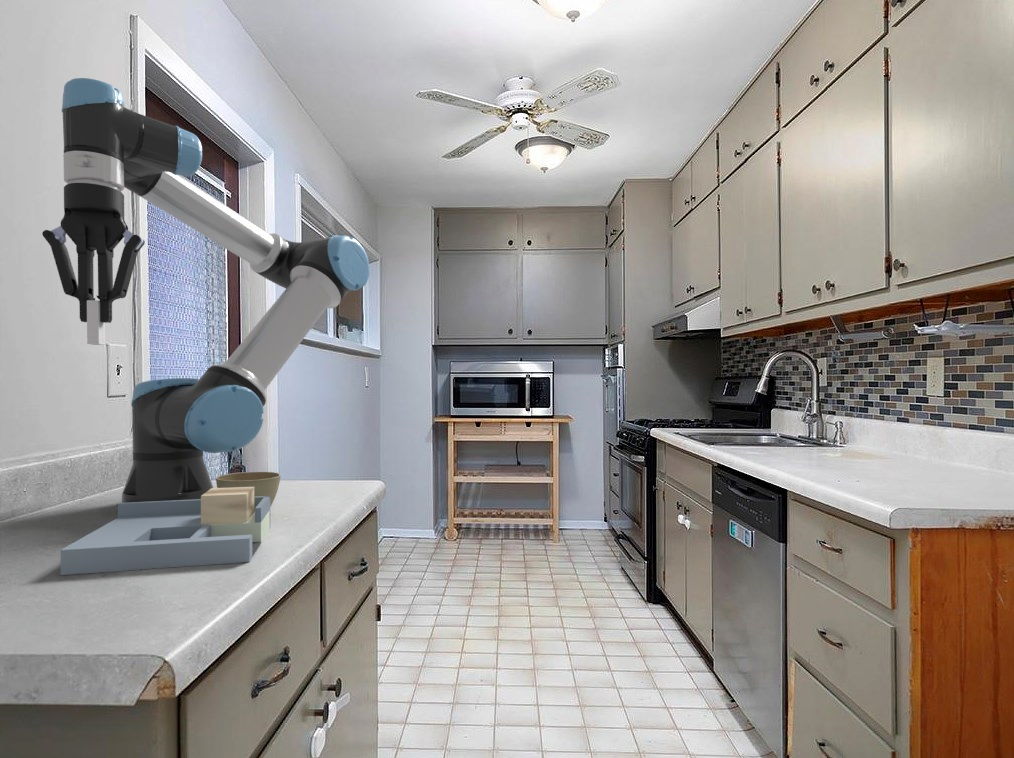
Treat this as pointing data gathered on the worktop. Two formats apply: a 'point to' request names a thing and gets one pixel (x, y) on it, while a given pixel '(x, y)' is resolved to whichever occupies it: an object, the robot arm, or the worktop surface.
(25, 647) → the worktop surface
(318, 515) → the worktop surface
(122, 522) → the tray
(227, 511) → the block
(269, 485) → the tan bowl
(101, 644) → the worktop surface
